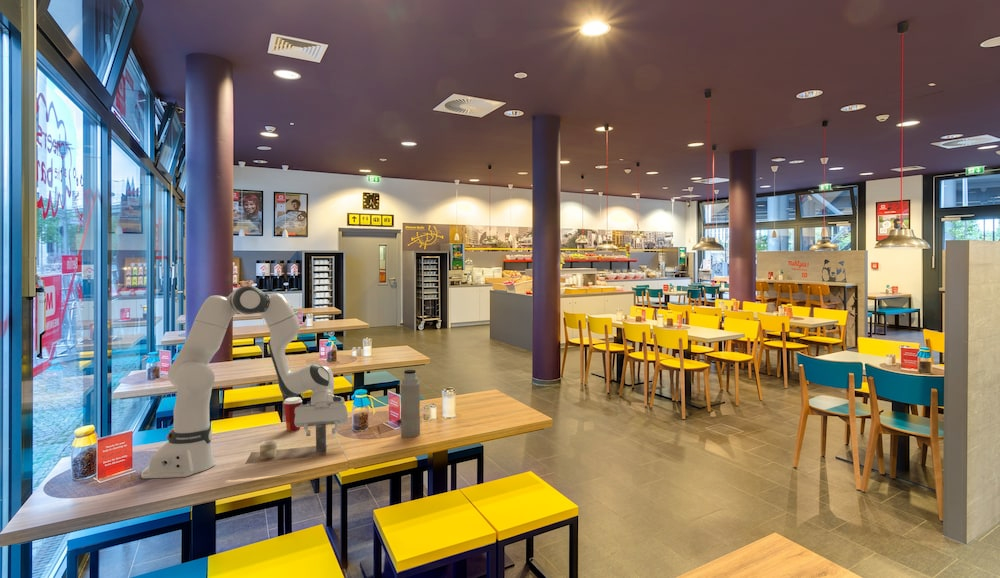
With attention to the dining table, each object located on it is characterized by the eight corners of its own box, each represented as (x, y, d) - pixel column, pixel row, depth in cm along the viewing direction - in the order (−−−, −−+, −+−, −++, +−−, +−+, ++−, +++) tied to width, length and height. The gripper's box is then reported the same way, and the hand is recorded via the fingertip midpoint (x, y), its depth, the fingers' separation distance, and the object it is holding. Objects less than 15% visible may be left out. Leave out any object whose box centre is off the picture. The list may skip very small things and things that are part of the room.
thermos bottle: (417, 430, 223) (417, 368, 222) (421, 435, 215) (421, 371, 214) (399, 432, 220) (399, 369, 219) (403, 438, 212) (402, 372, 211)
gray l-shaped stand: (245, 465, 183) (244, 436, 183) (251, 454, 194) (250, 426, 194) (325, 457, 191) (325, 429, 190) (327, 446, 202) (327, 420, 202)
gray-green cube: (260, 458, 188) (259, 445, 187) (262, 454, 192) (262, 441, 192) (274, 457, 189) (274, 444, 189) (276, 452, 194) (276, 440, 194)
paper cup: (305, 427, 228) (305, 396, 228) (297, 432, 221) (296, 401, 220) (289, 426, 229) (288, 396, 228) (280, 432, 221) (279, 400, 221)
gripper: (294, 401, 200) (291, 432, 191) (347, 397, 206) (347, 428, 197) (295, 409, 204) (293, 440, 195) (348, 405, 210) (347, 435, 201)
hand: (321, 434), depth 196 cm, fingers open, 8 cm apart
